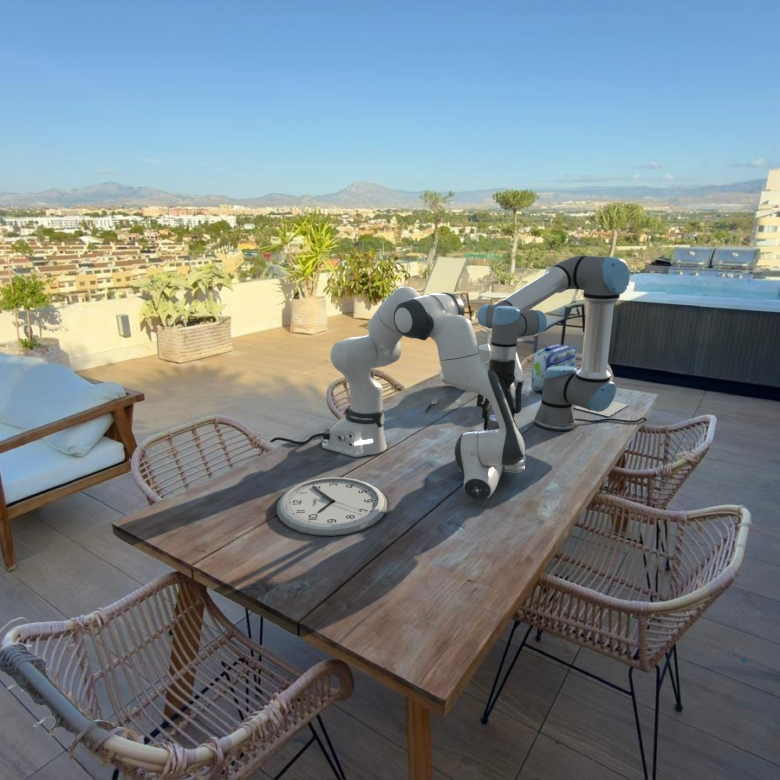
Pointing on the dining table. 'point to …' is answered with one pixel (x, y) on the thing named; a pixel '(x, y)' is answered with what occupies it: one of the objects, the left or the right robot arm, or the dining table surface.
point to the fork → (432, 403)
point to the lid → (492, 421)
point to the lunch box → (550, 362)
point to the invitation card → (609, 411)
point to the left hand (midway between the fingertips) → (495, 448)
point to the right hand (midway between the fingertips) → (496, 430)
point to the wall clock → (331, 506)
